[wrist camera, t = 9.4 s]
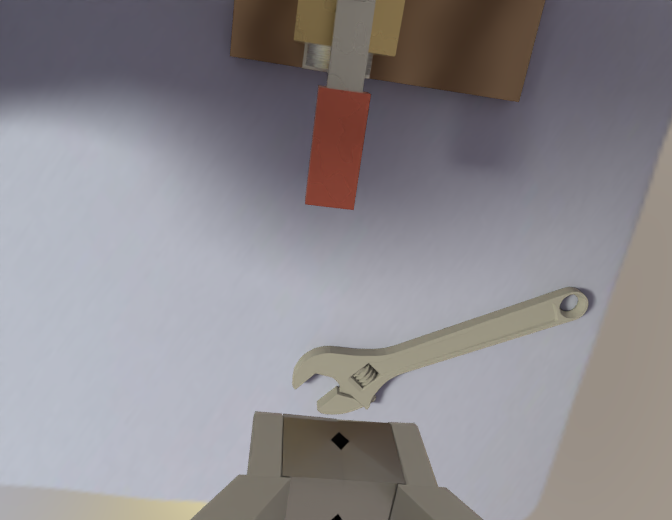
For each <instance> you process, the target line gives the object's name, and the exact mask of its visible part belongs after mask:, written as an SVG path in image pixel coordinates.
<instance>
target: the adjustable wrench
mask: <svg viewBox="0 0 672 520" xmlns="http://www.w3.org/2000/svg"><path fill="white" fill-rule="evenodd" d="M572 294H574V295H576V296H577V297H578V303H577V305H576V307H575V308H573V309H572V310H570V311H562V310H561V309H560V303H561V302H562V300H563V299H564V298H565V297H567V296H569V295H572ZM587 308H588V300H587V297H586V296H585V295H584V294H583V293H582V292H580V291H579V290H578V289H576V288H574V287H566V288H562V289H559V290H556V291H554V292H551V293H548V294H545V295H542V296H539V297H536V298H533V299H530V300H527V301H524V302H521V303H518V304H515V305H512V306H509V307H506V308H503V309H500V310H498V311H495V312H492V313H489V314H486V315H483V316H480V317H477V318H474V319H471V320H468V321H465V322H462V323H459V324H456V325H453V326H450V327H447V328H444V329H442V330H439V331H436V332H433V333H430V334H427V335H424V336H421V337H418V338H415V339H412V340H409V341H406V342H403V343H400V344H397V345H394V346H391V347H387V348H380V349H354V348H344V347H336V346H322V347H318V348H314V349H312V350H310V351H309V352H307V353H306V354H304V355H303V356H302V357H301V358H300V359H299V361H298V362H297V364H296V366H295V367H294V372H293V381H292V385H293V387H294V389H297V388H298V387H299V386H300V385H302V384H303V383H304V382H305V381H307V380H308V379H309V378H310V377H312V376H313V375H314V374H315V373H316V374H321V375H325V376H329V377H333V378H334V379H335V380H336V381H337V382H338V383H339V384H340V387H337V386H336V387H335V388H333V389H332V390H331V391H330V392H328V393H327V394H326V395H324V396H323V397H322V398H321V399H319V400H318V401H317V410H318V411H319V412H320V413H323V414H343V413H348V412H351V411H354V410H357V409H359V408H362V407H365V408H366V409H368V408H369V407H370V403H371V402H374V400H375V399H376V395H375V393H376V392H377V391H378V390H379V389H380V387H381V386H382V385H383V384H384V383H386V382H387V381H388V380H390V379H392V378H393V377H395V376H397V375H400V374H402V373H405V372H409V371H412V370H415V369H418V368H421V367H425V366H428V365H431V364H434V363H438V362H441V361H444V360H447V359H450V358H454V357H457V356H460V355H463V354H467V353H470V352H473V351H476V350H479V349H483V348H486V347H489V346H492V345H496V344H499V343H502V342H505V341H508V340H512V339H515V338H518V337H521V336H525V335H528V334H531V333H534V332H537V331H541V330H544V329H547V328H550V327H553V326H557V325H560V324H563V323H566V322H570V321H573V320H576V319H578V318H580V317H581V316H582V315H584V313H585V312H586V310H587ZM375 370H376V371H375Z"/></svg>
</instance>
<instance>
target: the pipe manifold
mask: <svg viewBox="0 0 672 520" xmlns="http://www.w3.org/2000/svg"><path fill="white" fill-rule="evenodd" d="M336 3H337V0H298V7H297V15H296V24H295V33H294V41H295V42H297V43H303V44H305V48H304V56H303V64H302V68H304V69H310V70H316V71H323V72H328V68H329V60H330V52H331V44H332V36H333V28H334V19H335V11H336ZM404 5H405V0H376V3H375V9H374V16H373V23H372V30H371V37H370V44H369V51H368V58H367V65H366V72H365V78H367V79H369V77H370V71H371V65H372V58H373V55H377V56H395V55H396V50H397V44H398V38H399V33H400V27H401V21H402V16H403V10H404Z"/></svg>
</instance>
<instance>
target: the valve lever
mask: <svg viewBox="0 0 672 520" xmlns="http://www.w3.org/2000/svg"><path fill="white" fill-rule="evenodd" d="M375 3H376V0H337V3H336V11H335V19H334V28H333V36H332V44H331V52H330V60H329V68H328V77H327V85H326V86H319V85H318V93H317V102H316V111H315V119H314V128H313V136H312V145H311V153H310V162H309V170H308V179H307V187H306V196H305V204H307V205H315V206H324V207H333V208H341V209H350V210H354V203H355V197H356V190H357V183H358V177H359V170H360V163H361V157H362V150H363V143H364V137H365V130H366V124H367V117H368V110H369V104H370V97H371V94H370V93H368V92H363V85H364V78H365V72H366V65H367V58H368V51H369V44H370V37H371V30H372V23H373V16H374V9H375Z"/></svg>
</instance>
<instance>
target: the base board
mask: <svg viewBox="0 0 672 520" xmlns="http://www.w3.org/2000/svg"><path fill="white" fill-rule="evenodd" d="M544 4H545V0H405V5H404V10H403V16H402V21H401V27H400V33H399V38H398V44H397V50H396V55H395V56H377V55H373V58H372V65H371V71H370V77H369V78H371V79H377V80H383V81H389V82H396V83H402V84H408V85H415V86H421V87H427V88H433V89H440V90H446V91H452V92H459V93H465V94H471V95H478V96H484V97H490V98H496V99H503V100H509V101H515V102H519V100H520V96H521V92H522V88H523V85H524V81H525V77H526V73H527V69H528V65H529V61H530V58H531V54H532V50H533V46H534V42H535V38H536V34H537V31H538V27H539V23H540V19H541V15H542V11H543V7H544ZM297 7H298V0H234V11H233V24H232V37H231V49H230V56H232V57H239V58H245V59H251V60H257V61H264V62H270V63H276V64H283V65H289V66H295V67H301V68H302V64H303V56H304V48H305V44H303V43H297V42H295V41H294V33H295V24H296V15H297Z"/></svg>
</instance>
